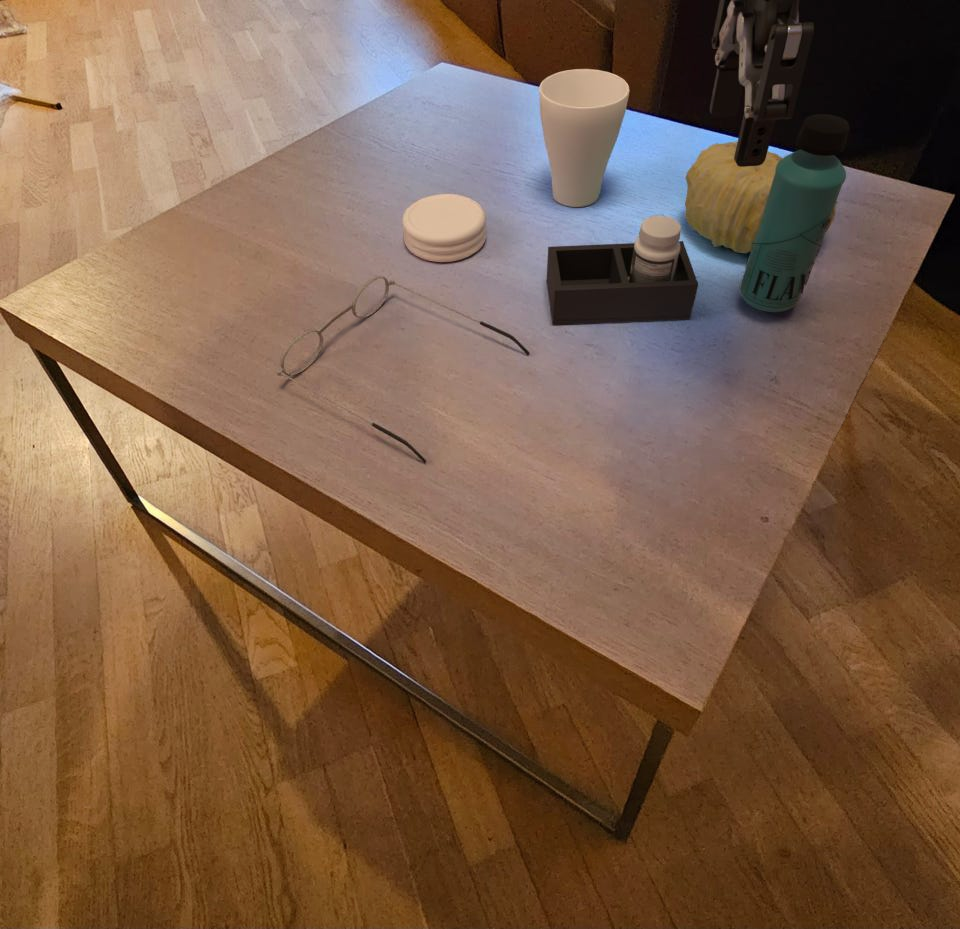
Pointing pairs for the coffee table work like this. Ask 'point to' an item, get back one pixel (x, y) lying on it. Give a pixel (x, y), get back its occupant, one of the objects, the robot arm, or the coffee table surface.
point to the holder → (613, 287)
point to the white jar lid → (444, 227)
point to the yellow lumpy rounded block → (729, 196)
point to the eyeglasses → (352, 306)
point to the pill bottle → (656, 250)
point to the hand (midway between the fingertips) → (734, 138)
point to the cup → (581, 130)
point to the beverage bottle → (796, 216)
